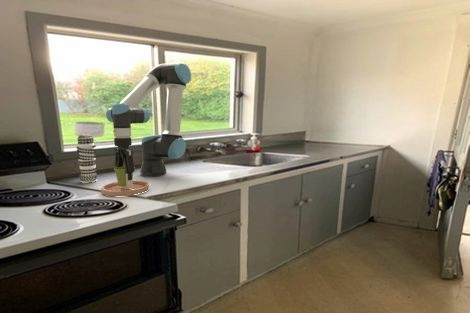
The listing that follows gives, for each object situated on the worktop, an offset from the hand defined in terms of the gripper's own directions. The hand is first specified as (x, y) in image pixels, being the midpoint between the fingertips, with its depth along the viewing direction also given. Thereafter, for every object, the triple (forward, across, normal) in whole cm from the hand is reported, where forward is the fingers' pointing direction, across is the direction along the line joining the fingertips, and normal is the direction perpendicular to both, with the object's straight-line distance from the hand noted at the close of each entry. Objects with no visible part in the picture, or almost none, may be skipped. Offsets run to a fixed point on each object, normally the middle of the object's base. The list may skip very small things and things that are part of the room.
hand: (125, 184), depth 143 cm
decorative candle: (+3, -32, -6) cm, 33 cm away
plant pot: (0, 0, 0) cm, 0 cm away
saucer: (+3, 0, 0) cm, 3 cm away
